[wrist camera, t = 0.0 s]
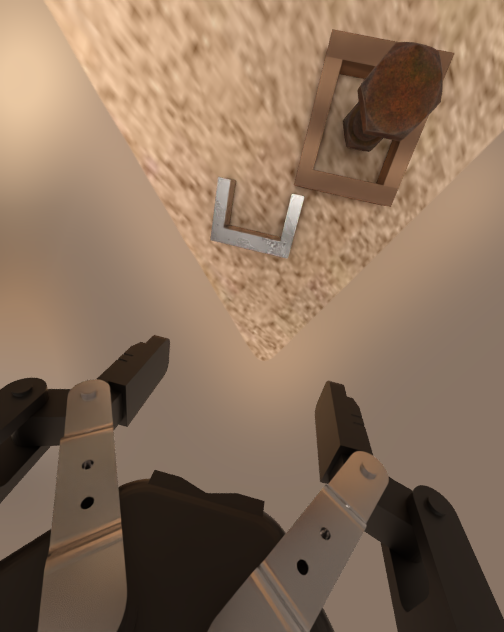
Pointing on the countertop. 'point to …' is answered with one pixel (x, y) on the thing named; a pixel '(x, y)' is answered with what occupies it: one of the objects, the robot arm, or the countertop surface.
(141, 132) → the countertop surface
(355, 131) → the bolt
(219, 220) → the block
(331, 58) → the square frame block
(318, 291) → the countertop surface
